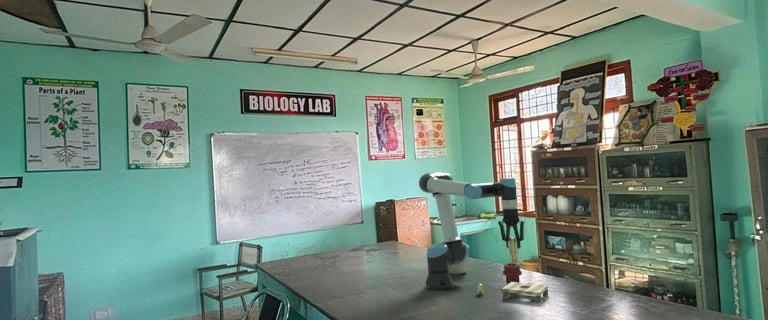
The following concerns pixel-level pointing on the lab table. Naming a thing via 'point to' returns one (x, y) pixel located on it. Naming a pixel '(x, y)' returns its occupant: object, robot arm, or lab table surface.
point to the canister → (459, 267)
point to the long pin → (513, 250)
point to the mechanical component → (512, 272)
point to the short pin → (480, 289)
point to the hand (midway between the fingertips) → (514, 254)
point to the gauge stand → (526, 290)
